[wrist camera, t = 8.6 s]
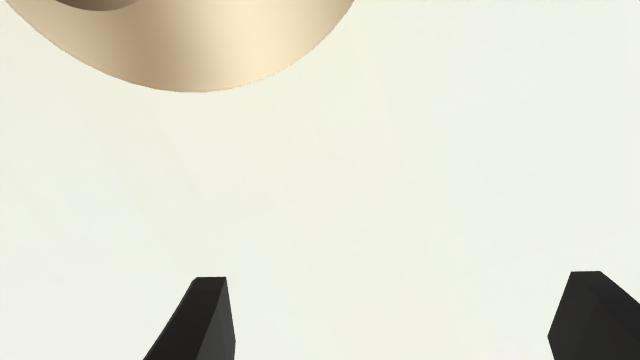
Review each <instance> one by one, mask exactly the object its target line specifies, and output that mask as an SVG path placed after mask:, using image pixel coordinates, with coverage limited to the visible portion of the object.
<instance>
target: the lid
mask: <svg viewBox="0 0 640 360" xmlns="http://www.w3.org/2000/svg"><path fill="white" fill-rule="evenodd" d="M5 1H6V2H7V3H8V4H9V5H10V6H11V8H12V9H13V10H14V11H15V12H16V13H17V14H19V15H20V16H21V17H22V18H23V19H24V20H25V21H26V22H27V23H28V24H29V25H31V26H32V27H33V28H34V29H35V30H36V31H37V32H39V33H40V34H41V35H43V36H44V37H45V38H46V39H48V40H49V41H50V42H52V43H53V44H54V45H56V46H57V47H58V48H60V49H61V50H63V51H65V52H66V53H68V54H70V55H71V56H73V57H74V58H76V59H78V60H79V61H81V62H83V63H85V64H87V65H89V66H91V67H93V68H95V69H97V70H99V71H101V72H103V73H105V74H107V75H110V76H113V77H116V78H118V79H121V80H124V81H127V82H130V83H133V84H137V85H141V86H145V87H149V88H153V89H159V90H167V91H175V92H211V91H220V90H228V89H232V88H236V87H240V86H244V85H248V84H252V83H254V82H257V81H259V80H262V79H264V78H267V77H270V76H272V75H274V74H276V73H278V72H279V71H281V70H283V69H285V68H287V67H289V66H290V65H292V64H294V63H295V62H297V61H298V60H299V59H301V58H302V57H303V56H305V55H306V54H307V53H309V52H310V51H311V50H313V49H314V48H315V47H316V46H317V45H318V44H319V43H320V42H321V41H322V40H323V39H324V38H325V37H326V36H327V35H328V34H329V33H330V32H331V31H332V30H333V29H334V28H335V26H336V25H337V24H338V23H339V21H340V20H341V19H342V18H343V16H344V15H345V14H346V13H347V11H348V10H349V8H350V6H351V5H352V3H353V1H354V0H5Z"/></svg>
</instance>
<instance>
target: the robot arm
mask: <svg viewBox="0 0 640 360" xmlns="http://www.w3.org/2000/svg"><path fill="white" fill-rule="evenodd" d="M547 337H548V340H549V343H550V347H551V350H552V353H553V357H554V360H640V304H639V303H638V302H637V301H636V300H635V299H634V298H632V297H631V296H630V295H629V294H628V293H626V292H625V291H624V290H623V289H622V288H620V287H619V286H618V285H617V284H616V283H614V282H613V281H612V280H611V279H610V278H608V277H607V276H606V275H604V274H603V273H602V272H601V271H580V272H571V274H570V276H569V279H568V282H567V284H566V287H565V290H564V293H563V295H562V298H561V301H560V303H559V306H558V309H557V312H556V314H555V317H554V320H553V322H552V325H551V328H550V331H549V333H548V336H547ZM235 343H236V341H235V334H234V327H233V320H232V314H231V307H230V300H229V293H228V287H227V280H226V277H197V278H195V279H194V280H193V281H192V282H191V284H190V286H189V288H188V290H187V291H186V293H185V295H184V297H183V298H182V300H181V302H180V304H179V305H178V307H177V309H176V310H175V312H174V313H173V315H172V317H171V318H170V320H169V321H168V323H167V325H166V326H165V328H164V329H163V331H162V332H161V334H160V335H159V337H158V338H157V340H156V341H155V343H154V344H153V346H152V347H151V349H150V350H149V352H148V353H147V355H146V356H145V358H144V359H143V360H234V354H235Z"/></svg>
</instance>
